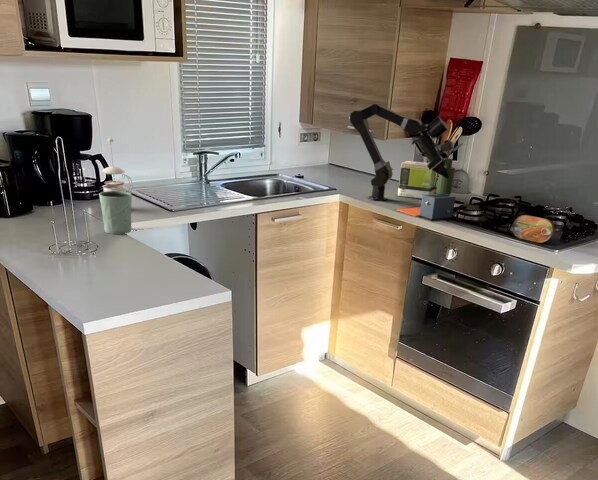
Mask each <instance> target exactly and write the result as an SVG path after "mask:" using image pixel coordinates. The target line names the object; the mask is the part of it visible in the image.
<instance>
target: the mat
mask: <svg viewBox="0 0 598 480" xmlns="http://www.w3.org/2000/svg"><path fill="white" fill-rule="evenodd" d="M420 209H421V206H418V207H417V206H416V207H405V208H396V211H397V212H401V213H402V214H406V215H409V216H412V217H419V215H420Z"/></svg>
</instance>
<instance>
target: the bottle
mask: <svg viewBox="0 0 598 480" xmlns="http://www.w3.org/2000/svg"><path fill="white" fill-rule="evenodd" d="M453 161H454V159H453V158H449V157H448V158H447V157H446V158H445V165H444V167H445V169H446V171H447V173H448V175H449V178H445V177H443V176H442V175H440V174H438V177H437V184H436V191H435V194H439V193H444V194H448V195H452V190H453V183H454V178H455V177H454V176H455V171H456V168H455V167H453Z"/></svg>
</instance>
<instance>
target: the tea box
mask: <svg viewBox="0 0 598 480" xmlns="http://www.w3.org/2000/svg"><path fill="white" fill-rule="evenodd" d="M427 164H428V162H421V161H410V160H406V161H403V162H401V165H400V172H399V179H398V180H399V181H398V190H397V196H398V197H405V198H413V199H420V200H422V195H427V194H435V188H436V180H437V175H438V173H436V172H435V171H432V169H433V168H434V167H433V168H432V169H430V170H429V168H428V167H427Z"/></svg>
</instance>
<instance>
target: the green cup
mask: <svg viewBox="0 0 598 480" xmlns="http://www.w3.org/2000/svg"><path fill="white" fill-rule="evenodd" d="M98 197H99V201H100V208H101V213H102V222H103V228H104V232H105V233H107V234H112V235H125V234H128V233H131V232H132V202H133V200H132V199H133V194H132V192H130V193H129V191H126V192H122V191H106V192H105V191H101V192H100V193H99V194H98Z"/></svg>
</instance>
